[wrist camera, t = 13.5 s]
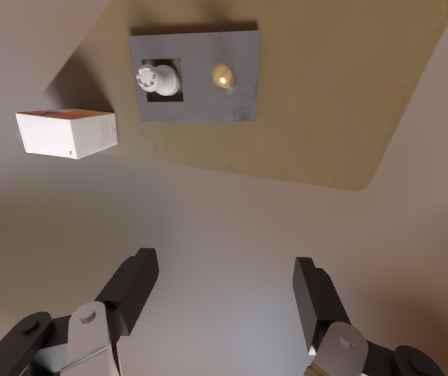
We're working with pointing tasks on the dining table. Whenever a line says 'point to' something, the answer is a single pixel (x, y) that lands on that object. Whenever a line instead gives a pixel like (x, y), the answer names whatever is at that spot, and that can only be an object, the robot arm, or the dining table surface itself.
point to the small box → (67, 132)
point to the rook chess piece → (158, 79)
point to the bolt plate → (202, 75)
